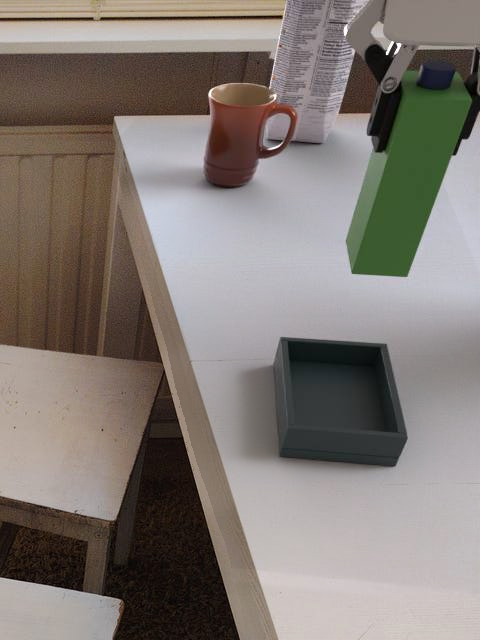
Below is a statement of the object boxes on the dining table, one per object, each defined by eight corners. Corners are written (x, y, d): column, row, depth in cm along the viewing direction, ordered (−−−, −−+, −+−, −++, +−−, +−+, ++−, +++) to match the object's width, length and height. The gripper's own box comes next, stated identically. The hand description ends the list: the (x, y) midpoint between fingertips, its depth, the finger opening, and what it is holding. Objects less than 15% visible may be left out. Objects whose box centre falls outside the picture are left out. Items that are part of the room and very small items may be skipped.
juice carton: (331, 147, 120) (395, -96, 99) (258, 142, 122) (305, -98, 102) (332, 125, 126) (393, -111, 105) (263, 120, 128) (309, -113, 107)
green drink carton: (345, 241, 73) (401, 51, 62) (398, 244, 72) (464, 52, 61) (351, 274, 69) (412, 78, 58) (407, 277, 68) (480, 80, 57)
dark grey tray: (272, 364, 86) (280, 336, 83) (376, 371, 85) (386, 343, 82) (279, 456, 76) (287, 428, 74) (395, 466, 75) (408, 437, 73)
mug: (188, 186, 114) (200, 101, 106) (205, 162, 118) (218, 79, 111) (275, 199, 110) (294, 113, 102) (289, 174, 115) (308, 90, 107)
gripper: (654, -194, 51) (517, 133, 65) (369, -190, 53) (297, 125, 67) (696, -175, 46) (539, 172, 60) (383, -172, 48) (302, 162, 63)
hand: (413, 144), depth 64 cm, fingers closed on green drink carton, 4 cm apart
